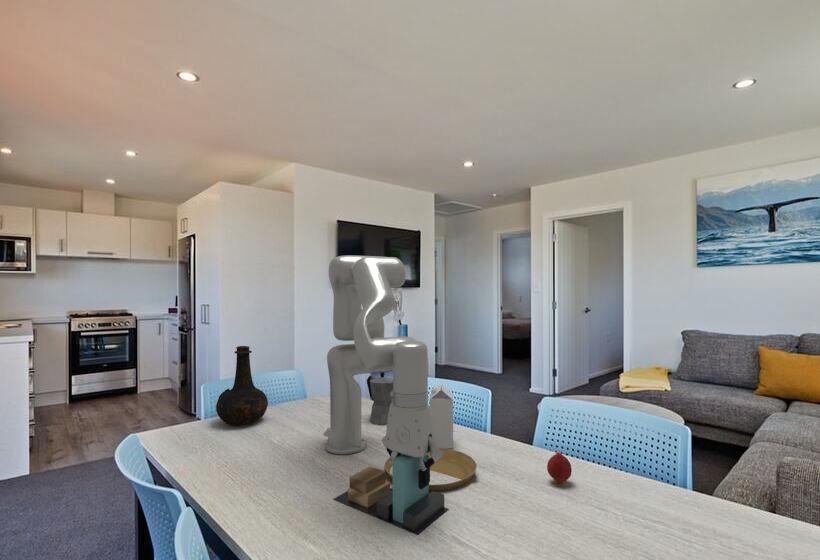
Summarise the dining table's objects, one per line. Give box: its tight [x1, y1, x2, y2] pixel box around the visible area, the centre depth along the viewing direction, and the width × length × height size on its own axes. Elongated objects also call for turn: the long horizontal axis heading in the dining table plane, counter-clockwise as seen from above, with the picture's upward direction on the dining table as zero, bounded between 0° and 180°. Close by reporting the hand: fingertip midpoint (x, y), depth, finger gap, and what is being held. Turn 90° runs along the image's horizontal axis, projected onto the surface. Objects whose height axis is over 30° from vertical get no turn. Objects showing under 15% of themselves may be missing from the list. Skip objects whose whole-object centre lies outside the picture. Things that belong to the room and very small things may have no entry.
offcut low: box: [347, 480, 391, 507], centre depth 100 cm, size 6×8×2 cm
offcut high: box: [349, 466, 387, 494], centre depth 100 cm, size 5×7×2 cm
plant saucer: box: [384, 448, 478, 492], centre depth 113 cm, size 24×24×3 cm
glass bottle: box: [215, 345, 269, 427], centre depth 157 cm, size 18×18×28 cm
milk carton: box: [429, 381, 454, 449], centre depth 135 cm, size 7×7×19 cm
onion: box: [546, 450, 573, 484], centre depth 108 cm, size 6×6×8 cm
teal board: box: [391, 454, 430, 523], centre depth 93 cm, size 3×9×12 cm, turn 144°
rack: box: [332, 487, 450, 536], centre depth 96 cm, size 24×12×4 cm, turn 54°
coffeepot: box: [366, 371, 393, 426], centre depth 159 cm, size 15×9×18 cm, turn 44°
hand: (411, 481), depth 93 cm, fingers open, 6 cm apart
